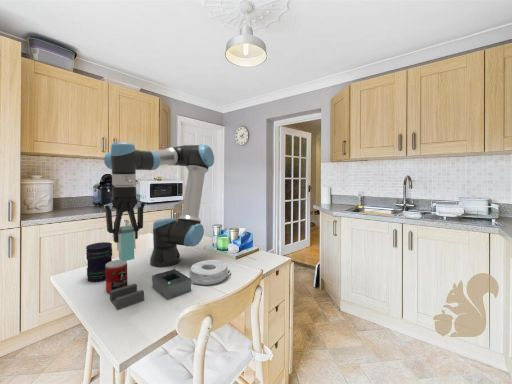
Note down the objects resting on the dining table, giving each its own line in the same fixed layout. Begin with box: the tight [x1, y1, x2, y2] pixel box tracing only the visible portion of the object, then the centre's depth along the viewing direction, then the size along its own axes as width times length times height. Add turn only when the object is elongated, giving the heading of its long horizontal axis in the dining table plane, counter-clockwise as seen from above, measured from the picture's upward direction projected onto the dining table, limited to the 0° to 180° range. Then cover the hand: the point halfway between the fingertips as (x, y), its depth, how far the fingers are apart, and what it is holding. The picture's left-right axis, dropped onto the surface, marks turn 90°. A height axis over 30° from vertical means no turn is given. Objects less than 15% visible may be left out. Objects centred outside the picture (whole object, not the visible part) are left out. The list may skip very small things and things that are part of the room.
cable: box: [189, 259, 232, 286], centre depth 111 cm, size 18×18×6 cm
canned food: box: [105, 259, 129, 294], centre depth 99 cm, size 8×8×11 cm
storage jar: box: [85, 241, 113, 283], centre depth 109 cm, size 10×10×15 cm
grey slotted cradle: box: [109, 283, 145, 311], centre depth 90 cm, size 9×9×4 cm
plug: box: [118, 225, 135, 262], centre depth 89 cm, size 4×4×12 cm
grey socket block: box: [151, 268, 192, 300], centre depth 100 cm, size 14×10×6 cm
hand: (126, 249), depth 89 cm, fingers closed on plug, 4 cm apart
